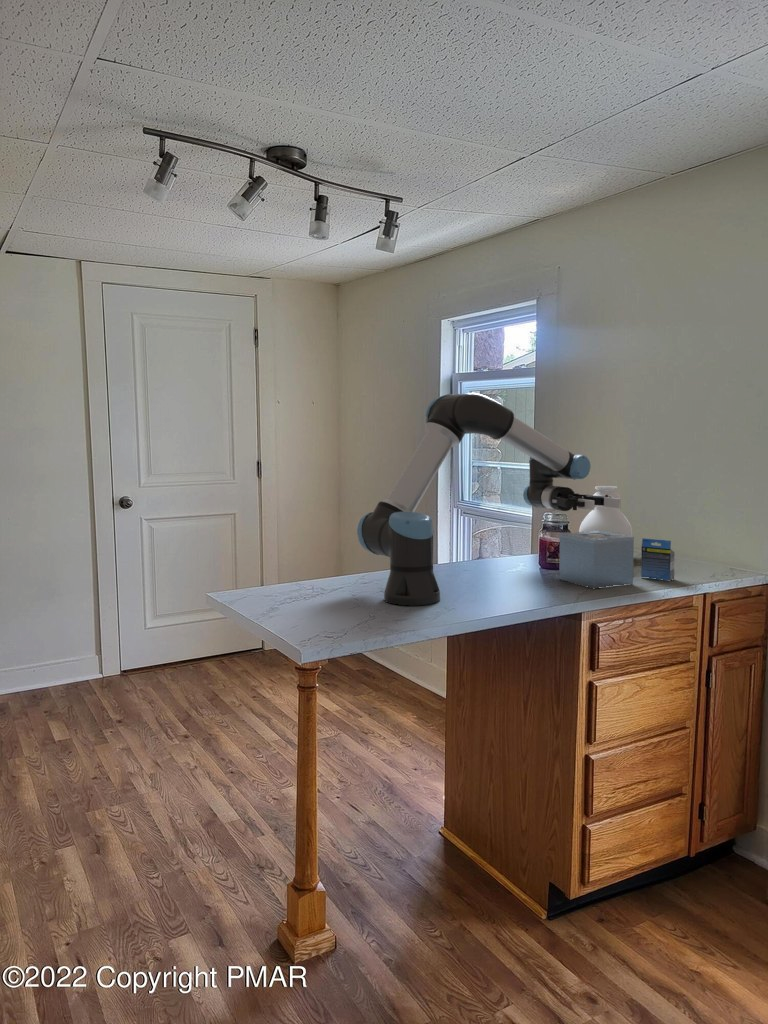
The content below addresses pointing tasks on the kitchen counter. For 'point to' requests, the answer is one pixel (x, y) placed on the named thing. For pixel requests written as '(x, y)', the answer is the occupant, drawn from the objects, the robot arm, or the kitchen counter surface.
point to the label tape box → (657, 559)
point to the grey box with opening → (596, 559)
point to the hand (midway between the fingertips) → (606, 504)
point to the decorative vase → (606, 516)
